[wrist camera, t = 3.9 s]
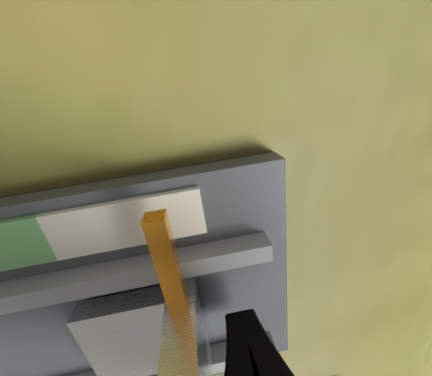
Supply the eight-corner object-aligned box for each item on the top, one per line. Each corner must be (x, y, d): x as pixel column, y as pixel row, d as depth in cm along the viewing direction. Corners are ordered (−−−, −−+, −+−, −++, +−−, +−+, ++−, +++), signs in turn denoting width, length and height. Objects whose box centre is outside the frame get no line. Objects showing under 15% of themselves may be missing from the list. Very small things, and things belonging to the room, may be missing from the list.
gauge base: (280, 330, 15) (336, 471, 9) (-62, 405, 13) (-234, 623, 8) (273, 151, 10) (384, 223, 4) (-259, 241, 9) (-1041, 501, 3)
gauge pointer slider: (210, 344, 12) (223, 488, 8) (111, 366, 12) (67, 529, 7) (174, 193, 8) (163, 300, 4) (31, 218, 8) (-149, 364, 4)
